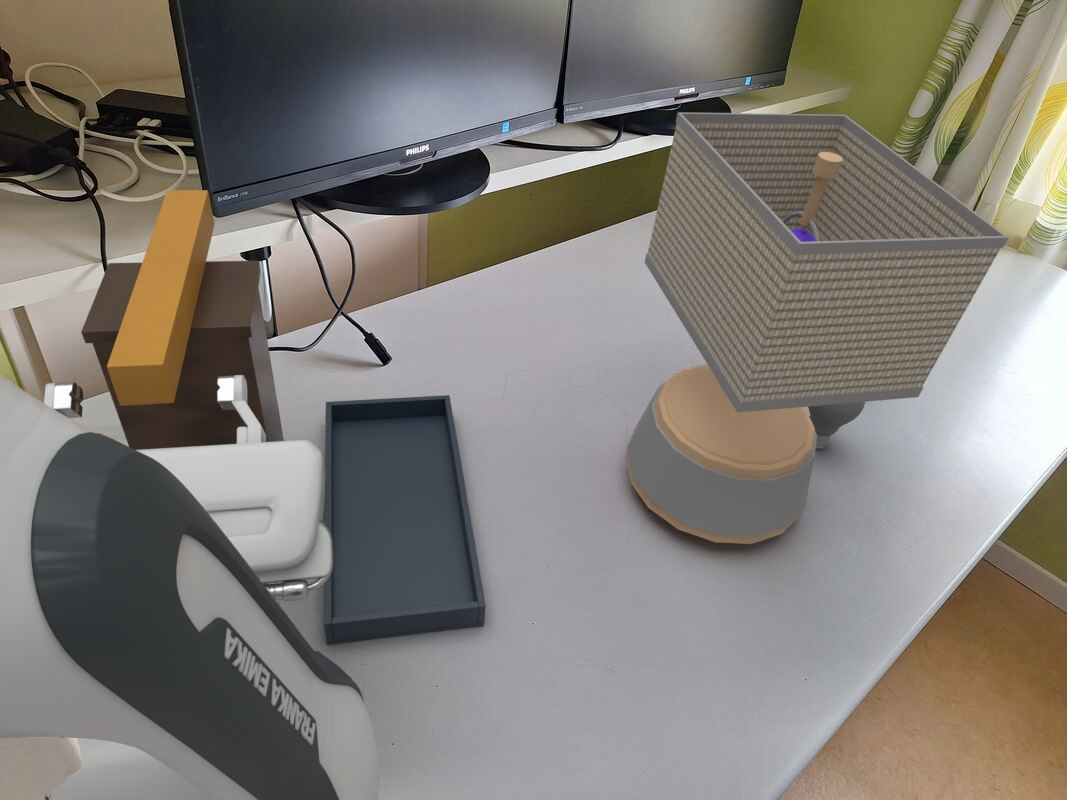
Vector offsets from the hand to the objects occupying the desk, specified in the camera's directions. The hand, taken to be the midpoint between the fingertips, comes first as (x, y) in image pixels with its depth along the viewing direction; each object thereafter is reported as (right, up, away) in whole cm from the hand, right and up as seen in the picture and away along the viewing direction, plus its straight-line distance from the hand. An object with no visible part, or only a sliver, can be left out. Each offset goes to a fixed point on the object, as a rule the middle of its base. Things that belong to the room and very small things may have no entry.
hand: (150, 381), depth 46 cm
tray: (+10, -12, +28) cm, 32 cm away
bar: (-2, +6, +7) cm, 10 cm away
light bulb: (+56, -6, +42) cm, 70 cm away
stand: (-5, -13, +25) cm, 29 cm away
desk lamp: (+42, -10, +35) cm, 56 cm away
